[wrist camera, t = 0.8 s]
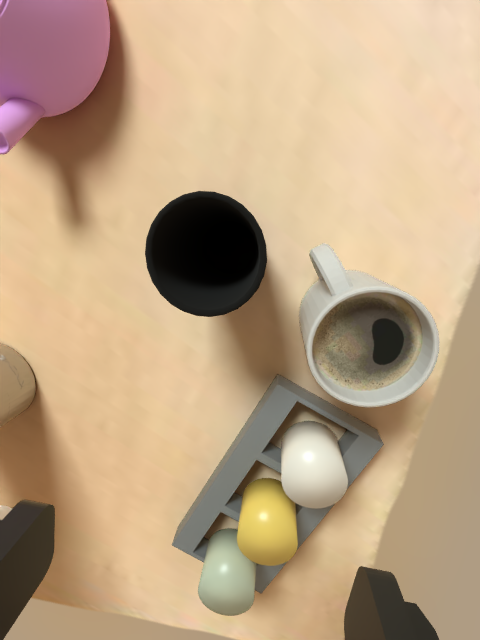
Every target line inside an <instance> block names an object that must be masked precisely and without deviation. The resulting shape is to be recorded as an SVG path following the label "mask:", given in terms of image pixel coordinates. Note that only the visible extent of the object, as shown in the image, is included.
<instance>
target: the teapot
mask: <svg viewBox="0 0 480 640" xmlns="http://www.w3.org/2000/svg"><path fill="white" fill-rule="evenodd" d="M109 43H110V20H109V12H108V6H107V2H106V0H0V106H1V107H0V154H6V153H8V152H9V151H10V150H11V149H12V148H13V147H14V146H15V145H16V143H17V142H18V141H19V140H20V139H21V138H22V137H23V136H24V135H25V134H26V133H27V132H28V131H29V130H30V129H31V128H32V127H33V126H34V125H35V123H36V122H37V121H38V120H39V119H40V118H41V117H50V116H56V115H60V114H63V113H65V112H67V111H70V110H72V109H73V108H75V107H76V106H78V105H79V104H80V103H82V102H83V101H84V100H85V99H86V98H87V97H88V96H89V94H90V93H91V92H92V91H93V89H94V88H95V86H96V85H97V83H98V81H99V79H100V77H101V75H102V73H103V70H104V67H105V64H106V61H107V56H108V51H109Z"/></svg>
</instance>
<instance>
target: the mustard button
mask: <svg viewBox="0 0 480 640" xmlns="http://www.w3.org/2000/svg"><path fill="white" fill-rule="evenodd" d="M237 544H238V547H239V549H240V551H241V552H242V553H243V555H244V556H245V557H247V558H248V559H249V560H251V561H253V562H255V563H257V564H261V565H266V566H275V565H280V564H283V563H285V562H287V561H288V560H290V559H291V558H292V557H293V556H294V554H295V553H296V550H297V546H298V541H297V524H296V507H295V502H293V501H292V500H291V499H290V498H289V497H288V496H287V495H286V493H285V491H284V489H283V487H282V482H281V481H279V480H276V479H272V478H262V479H258V480H255V481H253V482H251V483H250V484H249V485H248V486H247V487H246V488H245V490H244V492H243V497H242V504H241V511H240V518H239V526H238V533H237Z"/></svg>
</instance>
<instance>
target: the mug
mask: <svg viewBox="0 0 480 640" xmlns="http://www.w3.org/2000/svg"><path fill="white" fill-rule="evenodd" d="M309 255H310V258H311V261H312V263H313V266H314V268H315V270H316V273H317V275H318V277H319V280H318V281H316V282H315V283H314V284H313V285H312V286H311V287H310V288H309V289H308V291H307V292H306V294H305V295H304V298H303V300H302V302H301V306H300V310H299V323H300V328H301V332H302V337H303V341H304V346H305V351H306V355H307V360H308V364H309V368H310V370H311V373H312V375H313V376H314V378H315V380H316V381H317V383H318V384H319V385H320V386H321V387H322V388H323V389H324V390H325V391H326V392H327V393H328V394H330V395H331V396H333V397H334V398H336V399H338V400H340V401H342V402H345V403H347V404H350V405H354V406H360V407H380V406H386V405H389V404H393V403H396V402H398V401H400V400H402V399H405V398H406V397H408V396H409V395H411V394H412V393H414V392H415V391H416V390H417V389H419V388H420V387H421V386H422V385H423V384H424V382H425V381H426V380H427V379H428V377H429V376H430V374H431V373H432V371H433V369H434V366H435V364H436V362H437V358H438V353H439V334H438V330H437V326H436V323H435V321H434V319H433V317H432V315H431V313H430V312H429V311H428V310H427V308H426V307H425V306H424V305H423V304H422V303H421V302H420V301H419V300H417V299H416V298H414V297H413V296H411V295H410V294H408V293H406V292H404V291H402V290H400V289H398V288H396V287H394V286H392V285H390V284H388V283H386V282H384V281H382V280H379V279H377V278H375V277H373V276H371V275H369V274H367V273H364V272H361V271H356V270H345V269H344V267H343V265H342V263H341V261H340V260H339V258H338V256H337V255H336V253H335V252H334V250H333V249H332V248H331V247H330V246H329V245H328V244H325V243H323V244H321V245H319V246H317V247H315V248H313V249H311V250H310V253H309Z"/></svg>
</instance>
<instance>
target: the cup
mask: <svg viewBox="0 0 480 640" xmlns="http://www.w3.org/2000/svg"><path fill="white" fill-rule="evenodd" d="M145 255H146V263H147V269H148V271H149V274H150V277H151V279H152V282H153V283H154V285H155V286H156V288H157V289H158V291H159V292H160V294H161V295H162V296H163V297H164V298H165V299H166V300H167V301H168V302H169V303H170V304H172V305H173V306H175V307H177V308H178V309H180V310H182V311H184V312H187V313H190V314H193V315H196V316H207V317H212V316H218V315H224V314H227V313H229V312H231V311H234V310H236V309H238V308H239V307H241V306H242V305H243V304H245V303H246V302H247V301H249V299H250V298H251V297H252V296H253V294H254V293H255V292H256V291H257V289H258V287H259V285H260V283H261V281H262V279H263V277H264V273H265V268H266V263H267V253H266V243H265V240H264V236H263V233H262V230H261V228H260V226H259V225H258V223H257V221H256V219H255V218H254V216H253V215H252V214H251V213H250V212H249V211H248V210H247V209H246V208H245V207H244V206H243V205H242V204H240V203H239V202H237V201H236V200H234V199H232V198H231V197H229V196H226V195H223V194H219V193H216V192H206V191H197V192H193V193H189V194H184V195H182V196H180V197H178V198H176V199H174V200H173V201H171V202H170V203H168V204H167V205H166V206H165V207H164V208H163V209H162V210H161V211H160V212H159V213H158V215H157V216H156V218H155V219H154V221H153V223H152V224H151V227H150V230H149V233H148V236H147V239H146V250H145Z"/></svg>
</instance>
